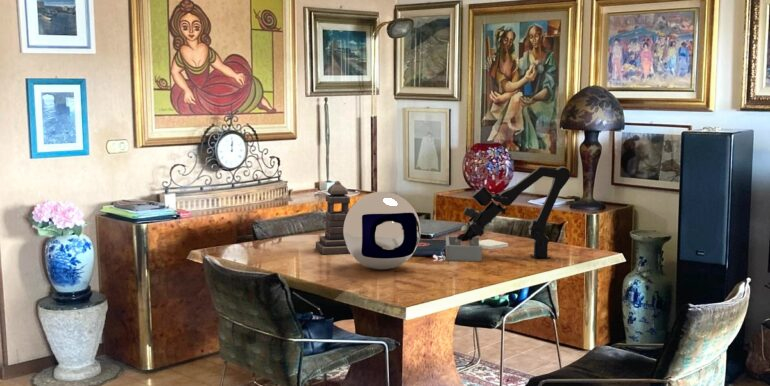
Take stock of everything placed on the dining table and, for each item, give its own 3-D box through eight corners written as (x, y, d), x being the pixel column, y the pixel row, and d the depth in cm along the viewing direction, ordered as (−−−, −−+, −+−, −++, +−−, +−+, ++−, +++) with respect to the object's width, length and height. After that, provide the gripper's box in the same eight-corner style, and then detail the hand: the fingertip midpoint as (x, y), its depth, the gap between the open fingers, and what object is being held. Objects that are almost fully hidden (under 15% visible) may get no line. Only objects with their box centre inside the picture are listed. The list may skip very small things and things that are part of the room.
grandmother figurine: (473, 254, 376) (474, 224, 374) (473, 256, 372) (474, 226, 371) (455, 254, 377) (455, 224, 375) (455, 255, 373) (455, 225, 371)
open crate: (478, 250, 385) (478, 236, 385) (481, 261, 362) (481, 246, 362) (445, 249, 386) (445, 236, 385) (446, 260, 363) (446, 245, 362)
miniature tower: (322, 255, 371) (322, 183, 367) (315, 248, 385) (315, 179, 382) (360, 253, 376) (360, 182, 372) (351, 247, 390) (352, 178, 386)
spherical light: (353, 279, 327) (354, 197, 324) (335, 263, 355) (335, 188, 352) (430, 275, 336) (431, 195, 332) (406, 259, 364) (407, 186, 360)
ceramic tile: (508, 246, 395) (508, 243, 395) (488, 249, 388) (488, 246, 388) (488, 242, 405) (488, 239, 404) (469, 245, 397) (469, 242, 397)
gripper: (474, 197, 380) (447, 222, 382) (476, 203, 362) (448, 229, 364) (492, 216, 381) (465, 241, 383) (495, 223, 362) (467, 249, 364)
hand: (461, 239), depth 373 cm, fingers closed on grandmother figurine, 2 cm apart
